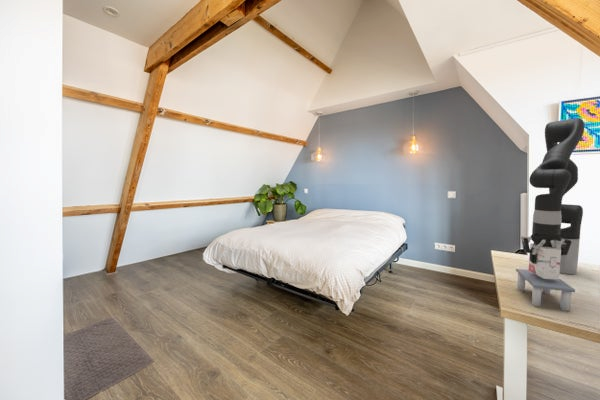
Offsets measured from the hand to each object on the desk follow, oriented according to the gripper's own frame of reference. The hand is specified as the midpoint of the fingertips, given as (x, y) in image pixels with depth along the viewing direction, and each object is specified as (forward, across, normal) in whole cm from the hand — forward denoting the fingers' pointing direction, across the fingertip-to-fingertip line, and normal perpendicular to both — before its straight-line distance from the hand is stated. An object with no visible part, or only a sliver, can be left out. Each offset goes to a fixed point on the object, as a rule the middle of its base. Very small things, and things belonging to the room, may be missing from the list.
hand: (543, 263), depth 92 cm
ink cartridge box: (+5, 0, 0) cm, 5 cm away
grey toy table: (+14, 0, 0) cm, 14 cm away
